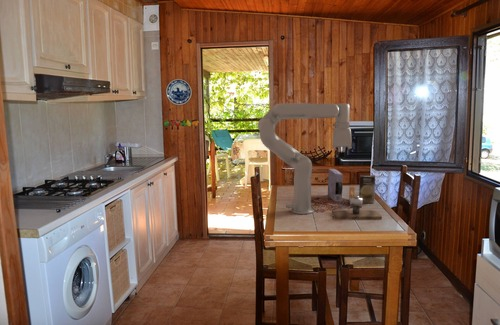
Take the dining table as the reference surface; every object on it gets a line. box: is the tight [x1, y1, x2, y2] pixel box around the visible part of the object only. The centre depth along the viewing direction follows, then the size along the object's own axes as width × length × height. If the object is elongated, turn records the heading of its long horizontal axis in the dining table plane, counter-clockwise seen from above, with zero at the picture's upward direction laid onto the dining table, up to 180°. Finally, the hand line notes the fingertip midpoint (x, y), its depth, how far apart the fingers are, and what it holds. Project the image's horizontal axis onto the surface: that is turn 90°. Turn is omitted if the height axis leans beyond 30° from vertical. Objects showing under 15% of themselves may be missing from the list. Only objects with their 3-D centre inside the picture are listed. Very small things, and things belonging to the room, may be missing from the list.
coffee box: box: [358, 174, 376, 204], centre depth 246 cm, size 9×6×16 cm
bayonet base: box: [331, 205, 383, 220], centre depth 217 cm, size 24×12×6 cm, turn 86°
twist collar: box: [348, 185, 364, 207], centre depth 221 cm, size 15×6×8 cm, turn 0°
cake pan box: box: [327, 168, 344, 203], centre depth 255 cm, size 19×5×18 cm, turn 3°
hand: (341, 158), depth 227 cm, fingers closed
